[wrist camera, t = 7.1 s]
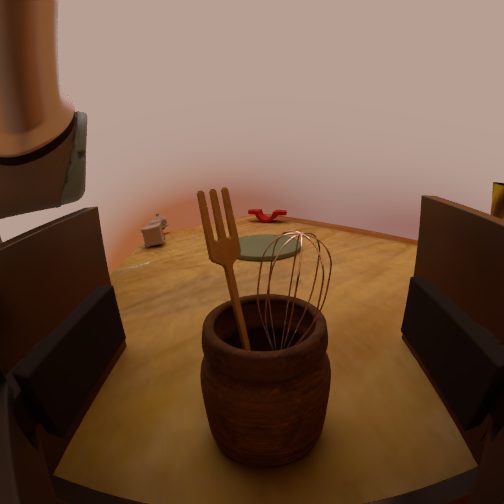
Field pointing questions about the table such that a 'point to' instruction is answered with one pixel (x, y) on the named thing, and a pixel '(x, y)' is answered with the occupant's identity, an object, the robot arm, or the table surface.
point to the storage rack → (75, 291)
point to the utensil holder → (262, 359)
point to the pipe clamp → (264, 218)
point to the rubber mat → (257, 245)
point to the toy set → (154, 231)
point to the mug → (498, 200)
